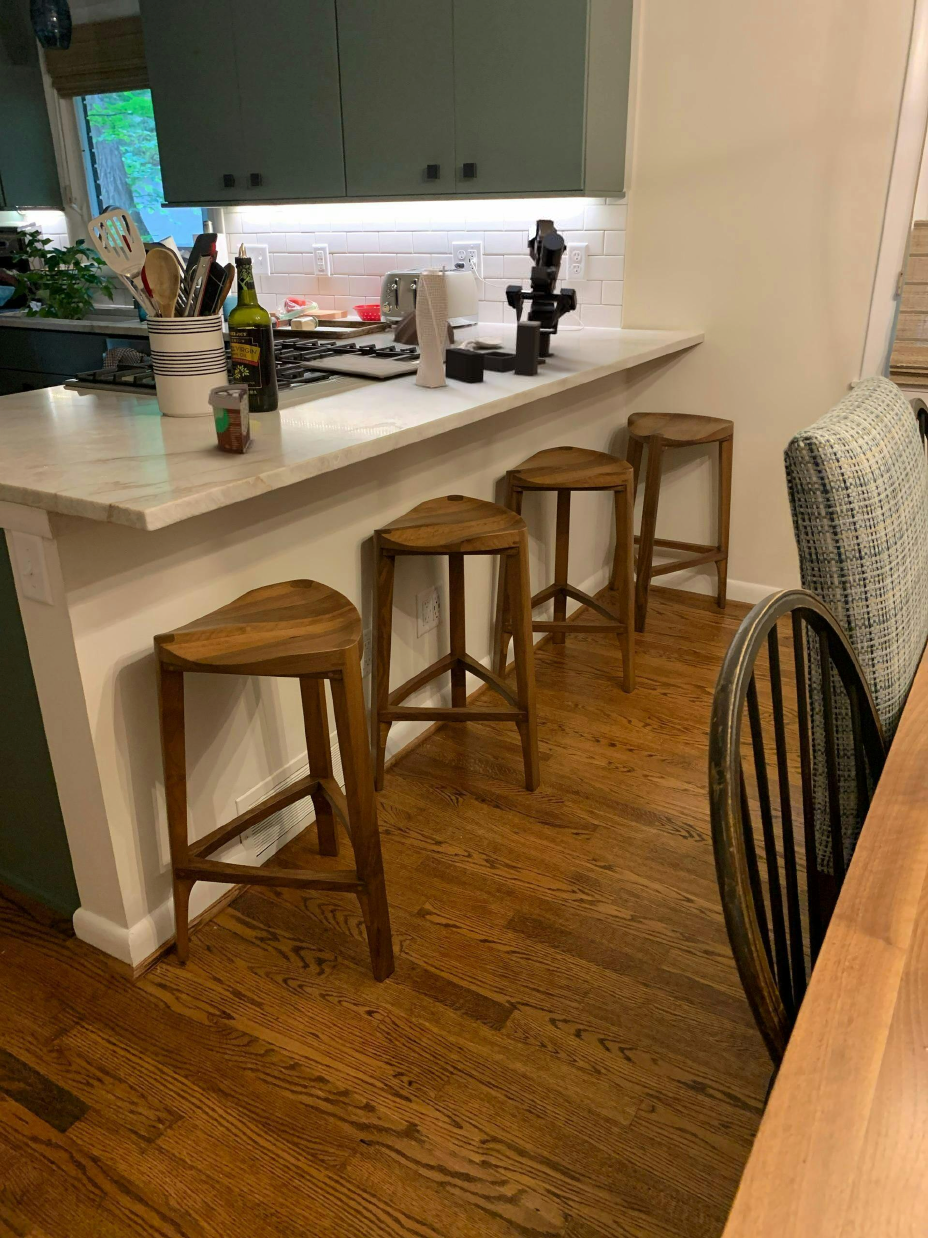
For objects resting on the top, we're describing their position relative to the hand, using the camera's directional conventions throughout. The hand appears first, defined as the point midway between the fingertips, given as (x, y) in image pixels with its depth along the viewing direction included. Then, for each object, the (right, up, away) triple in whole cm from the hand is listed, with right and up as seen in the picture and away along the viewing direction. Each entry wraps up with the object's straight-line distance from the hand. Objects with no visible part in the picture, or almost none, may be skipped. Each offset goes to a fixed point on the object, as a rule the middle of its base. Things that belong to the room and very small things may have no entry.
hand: (534, 322), depth 246 cm
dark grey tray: (-9, -7, +13) cm, 17 cm away
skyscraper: (-27, -21, -19) cm, 39 cm away
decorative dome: (-31, +10, +49) cm, 59 cm away
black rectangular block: (-18, -18, -10) cm, 27 cm away
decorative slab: (-44, -14, -3) cm, 47 cm away
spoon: (-16, +2, +33) cm, 36 cm away
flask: (-25, -6, +16) cm, 30 cm away
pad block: (-2, -13, 0) cm, 14 cm away
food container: (-61, -47, -79) cm, 111 cm away
